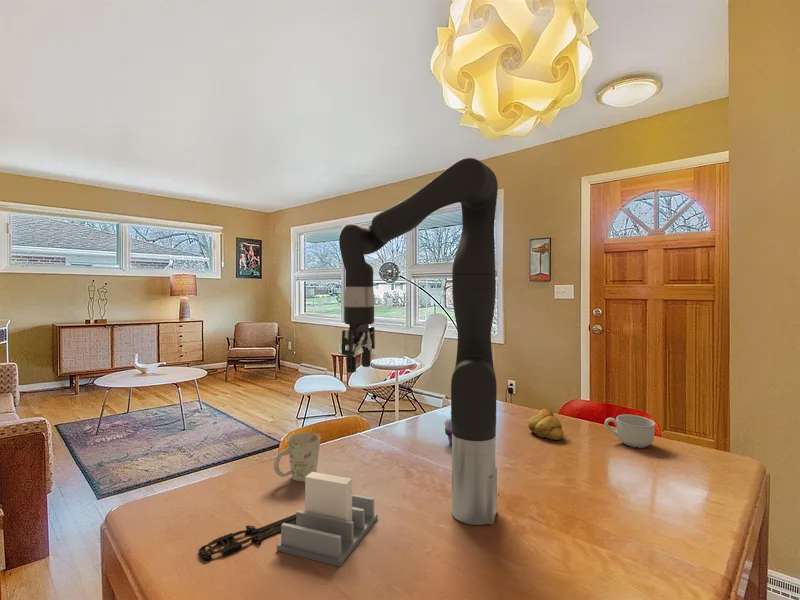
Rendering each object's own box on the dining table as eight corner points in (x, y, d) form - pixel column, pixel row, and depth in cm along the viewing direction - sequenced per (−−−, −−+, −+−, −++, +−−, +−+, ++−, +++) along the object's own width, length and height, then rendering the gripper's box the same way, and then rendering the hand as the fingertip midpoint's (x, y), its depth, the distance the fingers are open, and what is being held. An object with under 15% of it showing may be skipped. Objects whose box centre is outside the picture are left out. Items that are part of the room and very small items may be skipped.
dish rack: (323, 507, 91) (323, 487, 91) (377, 518, 86) (377, 497, 86) (276, 550, 75) (276, 526, 75) (339, 566, 71) (339, 540, 71)
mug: (326, 476, 106) (327, 437, 106) (283, 493, 97) (283, 451, 97) (308, 467, 112) (308, 430, 112) (265, 482, 103) (265, 442, 103)
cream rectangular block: (312, 520, 84) (312, 471, 84) (352, 529, 81) (352, 478, 80) (305, 527, 81) (305, 476, 81) (346, 536, 78) (346, 484, 78)
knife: (321, 508, 92) (321, 502, 92) (334, 521, 86) (334, 514, 86) (196, 548, 77) (196, 541, 77) (203, 567, 71) (203, 559, 71)
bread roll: (570, 441, 133) (570, 416, 133) (542, 443, 131) (542, 418, 131) (549, 428, 145) (549, 406, 145) (523, 430, 144) (523, 407, 143)
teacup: (655, 442, 132) (655, 417, 132) (654, 453, 123) (654, 426, 123) (606, 434, 139) (606, 411, 139) (602, 444, 130) (603, 419, 130)
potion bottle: (441, 439, 134) (441, 402, 134) (467, 438, 135) (467, 402, 135) (447, 449, 125) (447, 410, 125) (474, 448, 126) (475, 409, 126)
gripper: (360, 306, 96) (360, 375, 96) (383, 304, 109) (383, 365, 109) (332, 305, 98) (331, 373, 99) (358, 304, 112) (358, 364, 112)
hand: (359, 369), depth 104 cm, fingers open, 8 cm apart
